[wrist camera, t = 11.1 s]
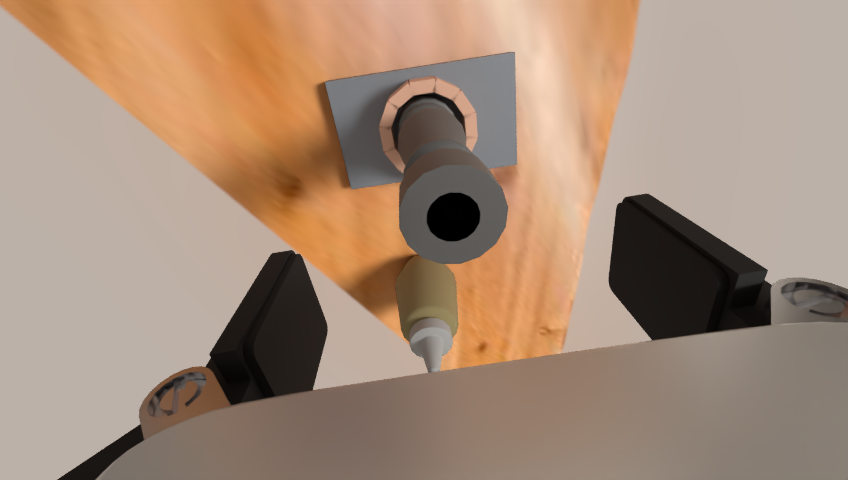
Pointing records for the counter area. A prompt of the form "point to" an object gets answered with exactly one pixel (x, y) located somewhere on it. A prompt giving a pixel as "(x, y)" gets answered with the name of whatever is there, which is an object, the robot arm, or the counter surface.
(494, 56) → the socket board
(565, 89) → the counter surface
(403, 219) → the candle holder
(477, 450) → the robot arm
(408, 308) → the squeeze bottle
